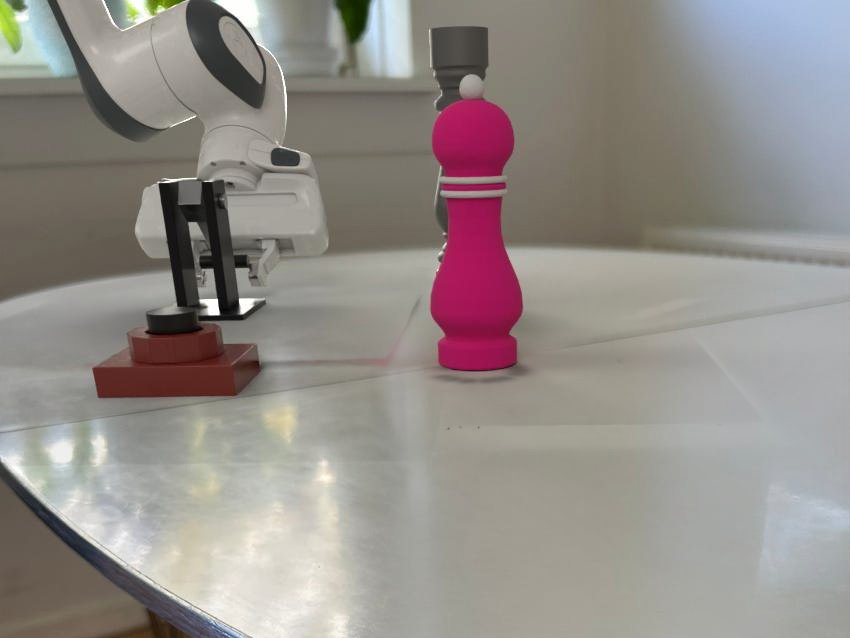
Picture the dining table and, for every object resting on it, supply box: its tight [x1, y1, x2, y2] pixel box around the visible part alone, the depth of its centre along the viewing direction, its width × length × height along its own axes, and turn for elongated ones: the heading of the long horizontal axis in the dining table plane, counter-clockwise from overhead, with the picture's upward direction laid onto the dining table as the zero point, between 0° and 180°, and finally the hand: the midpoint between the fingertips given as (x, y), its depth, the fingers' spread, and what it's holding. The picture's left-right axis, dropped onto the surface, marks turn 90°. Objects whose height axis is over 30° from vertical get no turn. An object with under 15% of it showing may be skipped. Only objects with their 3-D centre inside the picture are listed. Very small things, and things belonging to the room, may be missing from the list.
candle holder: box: [428, 25, 490, 276], centre depth 100 cm, size 6×6×25 cm
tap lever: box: [178, 181, 251, 270], centre depth 98 cm, size 12×5×2 cm
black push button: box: [145, 306, 200, 335], centre depth 73 cm, size 4×4×2 cm
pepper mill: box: [429, 74, 524, 371], centre depth 75 cm, size 7×7×20 cm
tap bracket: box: [158, 179, 267, 322], centre depth 96 cm, size 10×9×13 cm
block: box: [91, 321, 261, 399], centre depth 74 cm, size 10×8×4 cm
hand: (226, 283), depth 104 cm, fingers closed on tap lever, 5 cm apart
